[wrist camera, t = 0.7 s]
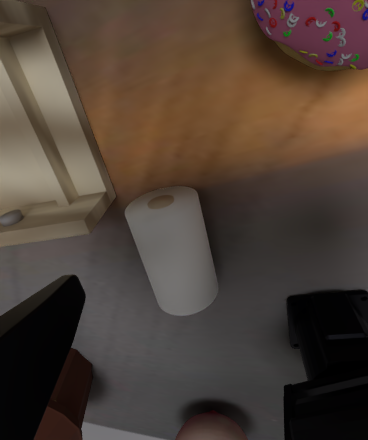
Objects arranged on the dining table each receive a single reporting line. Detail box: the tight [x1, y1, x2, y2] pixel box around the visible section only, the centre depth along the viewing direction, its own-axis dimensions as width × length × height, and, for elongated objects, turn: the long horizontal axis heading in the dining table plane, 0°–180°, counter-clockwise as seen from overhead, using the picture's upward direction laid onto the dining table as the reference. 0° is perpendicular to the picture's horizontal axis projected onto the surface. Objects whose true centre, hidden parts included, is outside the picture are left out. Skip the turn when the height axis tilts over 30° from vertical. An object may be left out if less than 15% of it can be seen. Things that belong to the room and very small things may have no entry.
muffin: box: [34, 348, 93, 440], centre depth 31 cm, size 12×11×10 cm
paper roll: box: [125, 186, 219, 316], centre depth 21 cm, size 8×5×5 cm, turn 13°
